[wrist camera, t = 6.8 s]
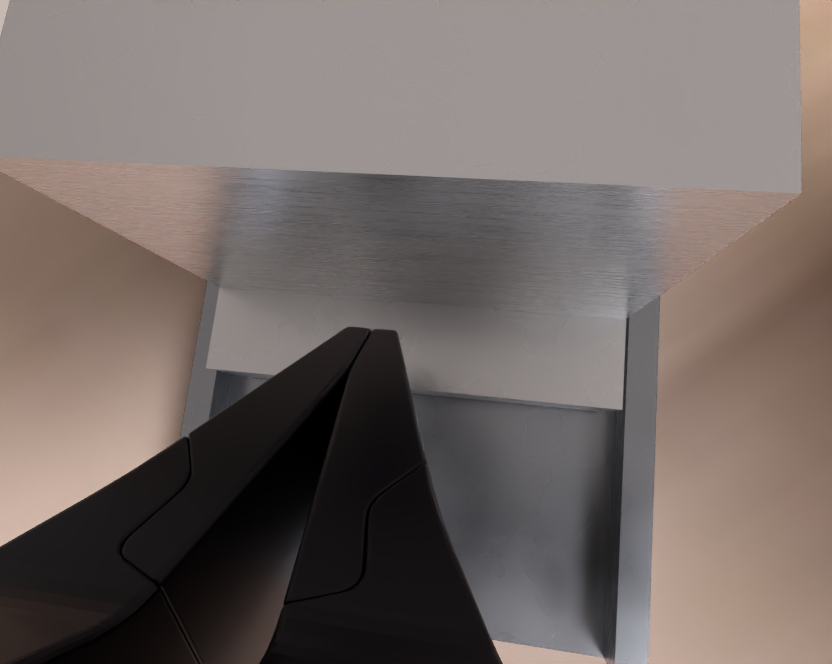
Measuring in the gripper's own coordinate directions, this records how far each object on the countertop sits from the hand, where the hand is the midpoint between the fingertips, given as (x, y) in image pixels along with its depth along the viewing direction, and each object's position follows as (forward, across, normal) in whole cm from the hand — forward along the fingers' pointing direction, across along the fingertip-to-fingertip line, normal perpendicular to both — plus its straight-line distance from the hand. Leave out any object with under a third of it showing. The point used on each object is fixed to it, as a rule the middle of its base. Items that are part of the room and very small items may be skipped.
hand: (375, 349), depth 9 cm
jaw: (+5, 0, +2) cm, 6 cm away
